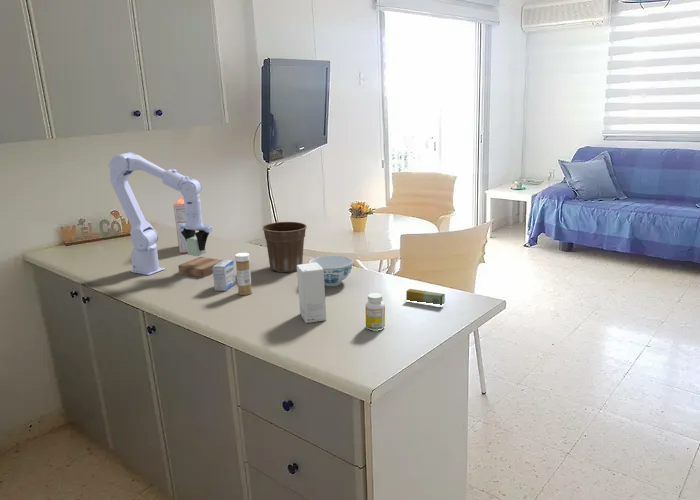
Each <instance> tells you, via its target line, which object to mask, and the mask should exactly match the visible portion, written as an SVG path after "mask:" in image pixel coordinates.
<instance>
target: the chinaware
mask: <svg viewBox="0 0 700 500" xmlns="http://www.w3.org/2000/svg"><path fill="white" fill-rule="evenodd" d="M316 262H317V263H318V264H319V265H320V266H321V267H322V268H323V270H324V287H325V286H327V287H336V286H340V285H341V284H342V282H343V281H344V280H345V279H346V278H347V277H348V276H349V275H350V273H351V270H352V268H353V265H354V260H353V259H352V258H350V257H348V256H345V255H333V254H332V255H323V256H318V257H314V258H312V259H310V260H309V262H308V263H316Z"/></svg>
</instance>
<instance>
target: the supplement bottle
mask: <svg viewBox="0 0 700 500" xmlns="http://www.w3.org/2000/svg"><path fill="white" fill-rule="evenodd" d="M367 300H368V301H367V302H366V303H365V328H366V329H367V328H368V329H371V330H378V329H382V328H384V327H385V324H386V321H385V320H386V316H385V315H386V304H385V302H384V301H383V300H384V299H383V294H381V293H378V292H371V293H369V294H368V295H367ZM368 329H367V330H368ZM384 329H385V328H384Z"/></svg>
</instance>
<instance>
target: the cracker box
mask: <svg viewBox="0 0 700 500" xmlns="http://www.w3.org/2000/svg"><path fill="white" fill-rule="evenodd" d="M173 211H174V218H175V219H174V220H175V221H174V222H175V229H176V236H177V244H178V251H179V254H188V248H187V241H186V239H185V238H184V236H183V235H182V234H181V231H183V230H184V229H179V228H178V224H179V223H186V215H185V206H184V197H180V198H178V199H177V201H176V202H174V204H173ZM196 232H197V231H195V233H196ZM195 236H196V235H195Z"/></svg>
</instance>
